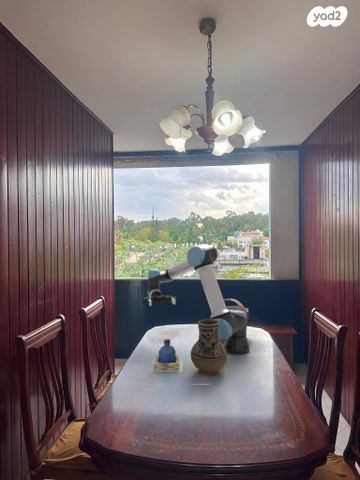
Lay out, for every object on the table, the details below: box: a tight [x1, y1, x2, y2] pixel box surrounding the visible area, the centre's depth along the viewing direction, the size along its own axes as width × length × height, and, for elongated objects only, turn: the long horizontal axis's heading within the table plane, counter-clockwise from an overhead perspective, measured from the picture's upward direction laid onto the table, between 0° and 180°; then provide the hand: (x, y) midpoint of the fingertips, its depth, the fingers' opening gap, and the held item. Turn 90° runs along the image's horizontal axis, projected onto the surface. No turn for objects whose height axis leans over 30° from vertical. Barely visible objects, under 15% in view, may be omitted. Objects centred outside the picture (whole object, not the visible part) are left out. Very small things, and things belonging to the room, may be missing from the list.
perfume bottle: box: [158, 338, 177, 363], centre depth 179 cm, size 6×6×12 cm
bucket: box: [221, 298, 250, 342], centre depth 229 cm, size 24×22×25 cm
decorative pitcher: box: [190, 318, 228, 376], centre depth 171 cm, size 22×18×25 cm
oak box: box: [154, 354, 180, 370], centre depth 179 cm, size 12×12×3 cm
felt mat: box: [149, 359, 184, 373], centre depth 179 cm, size 16×16×1 cm
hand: (162, 302), depth 194 cm, fingers open, 13 cm apart
